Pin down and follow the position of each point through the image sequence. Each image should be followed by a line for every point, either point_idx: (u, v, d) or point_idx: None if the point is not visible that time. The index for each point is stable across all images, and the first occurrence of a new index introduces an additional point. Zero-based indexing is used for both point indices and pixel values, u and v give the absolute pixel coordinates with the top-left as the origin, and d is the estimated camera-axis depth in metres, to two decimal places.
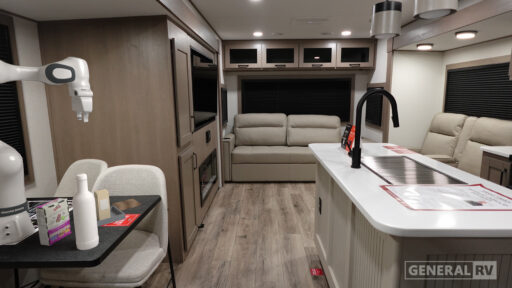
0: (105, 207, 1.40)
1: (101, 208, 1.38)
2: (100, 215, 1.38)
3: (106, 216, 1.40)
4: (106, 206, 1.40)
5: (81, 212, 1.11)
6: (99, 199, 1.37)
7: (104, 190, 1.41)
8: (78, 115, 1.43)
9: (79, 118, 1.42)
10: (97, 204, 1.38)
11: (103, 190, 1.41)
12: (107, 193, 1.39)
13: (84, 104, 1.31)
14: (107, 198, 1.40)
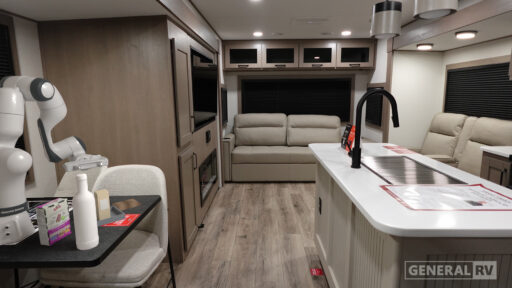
0: (105, 207, 1.40)
1: (101, 208, 1.38)
2: (100, 215, 1.38)
3: (106, 216, 1.40)
4: (106, 206, 1.40)
5: (81, 212, 1.11)
6: (99, 199, 1.37)
7: (104, 190, 1.41)
8: None
9: None
10: (97, 204, 1.38)
11: (103, 190, 1.41)
12: (107, 193, 1.39)
13: None
14: (107, 198, 1.40)
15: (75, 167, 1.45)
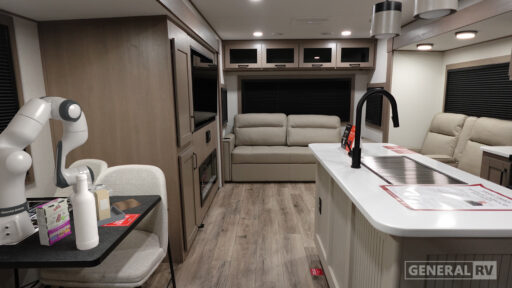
0: (105, 207, 1.40)
1: (101, 208, 1.38)
2: (100, 215, 1.38)
3: (106, 216, 1.40)
4: (106, 206, 1.40)
5: (81, 212, 1.11)
6: (99, 199, 1.37)
7: (104, 190, 1.41)
8: None
9: None
10: (97, 204, 1.38)
11: (103, 190, 1.41)
12: (107, 193, 1.39)
13: None
14: (107, 198, 1.40)
15: None
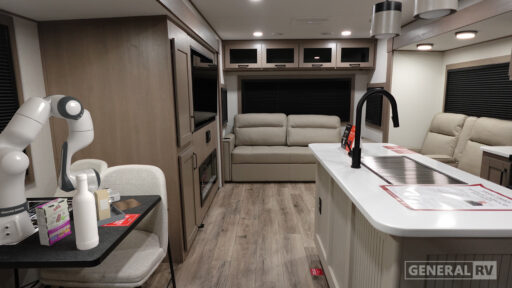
0: (105, 207, 1.40)
1: (101, 208, 1.38)
2: (100, 215, 1.38)
3: (106, 216, 1.40)
4: (106, 206, 1.40)
5: (81, 212, 1.11)
6: (99, 199, 1.37)
7: (104, 190, 1.41)
8: None
9: None
10: (97, 204, 1.38)
11: (103, 190, 1.41)
12: (107, 193, 1.39)
13: None
14: (107, 198, 1.40)
15: None
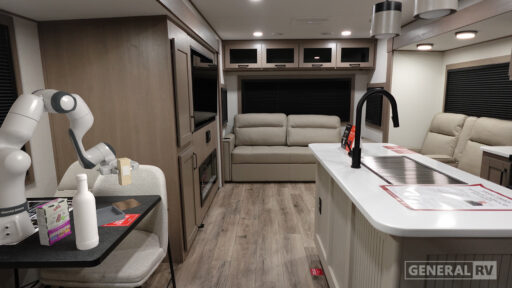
0: (127, 173, 1.55)
1: (123, 173, 1.53)
2: (122, 180, 1.54)
3: (128, 181, 1.56)
4: (127, 172, 1.55)
5: (81, 212, 1.11)
6: (122, 165, 1.52)
7: (125, 158, 1.56)
8: None
9: None
10: (120, 170, 1.53)
11: (125, 158, 1.56)
12: (128, 160, 1.55)
13: None
14: (128, 165, 1.55)
15: (113, 170, 1.54)
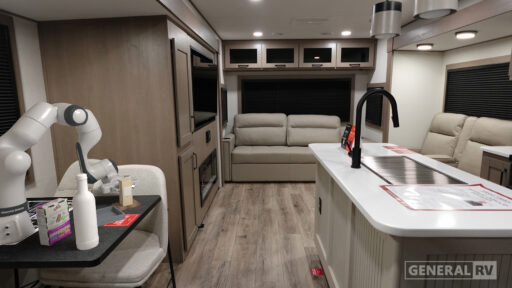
0: (128, 193, 1.57)
1: (124, 194, 1.55)
2: (124, 201, 1.56)
3: (129, 202, 1.58)
4: (129, 193, 1.57)
5: (81, 212, 1.11)
6: (123, 186, 1.55)
7: (127, 179, 1.58)
8: None
9: None
10: (121, 191, 1.55)
11: (126, 179, 1.58)
12: (130, 181, 1.57)
13: None
14: (130, 186, 1.57)
15: (112, 189, 1.55)
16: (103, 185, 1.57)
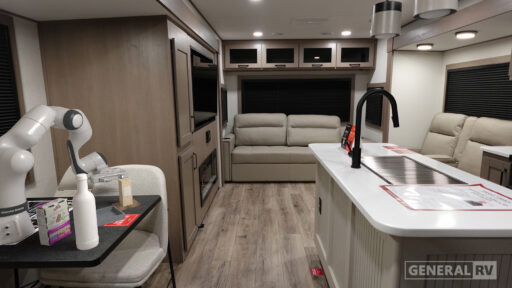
0: (128, 193, 1.57)
1: (124, 194, 1.55)
2: (124, 201, 1.56)
3: (129, 202, 1.58)
4: (129, 193, 1.57)
5: (81, 212, 1.11)
6: (123, 186, 1.54)
7: (127, 179, 1.58)
8: None
9: None
10: (121, 191, 1.55)
11: (126, 179, 1.58)
12: (130, 181, 1.57)
13: None
14: (130, 186, 1.57)
15: (100, 179, 1.64)
16: (93, 176, 1.66)
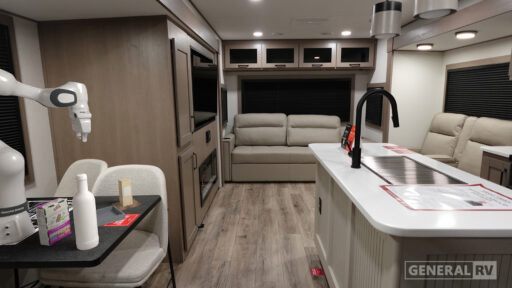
0: (128, 193, 1.57)
1: (124, 194, 1.55)
2: (124, 201, 1.56)
3: (129, 202, 1.58)
4: (129, 193, 1.57)
5: (81, 212, 1.11)
6: (123, 186, 1.54)
7: (127, 179, 1.58)
8: (77, 134, 1.52)
9: (78, 137, 1.52)
10: (121, 191, 1.55)
11: (126, 179, 1.58)
12: (130, 181, 1.57)
13: (83, 126, 1.41)
14: (130, 186, 1.57)
15: None
16: None
